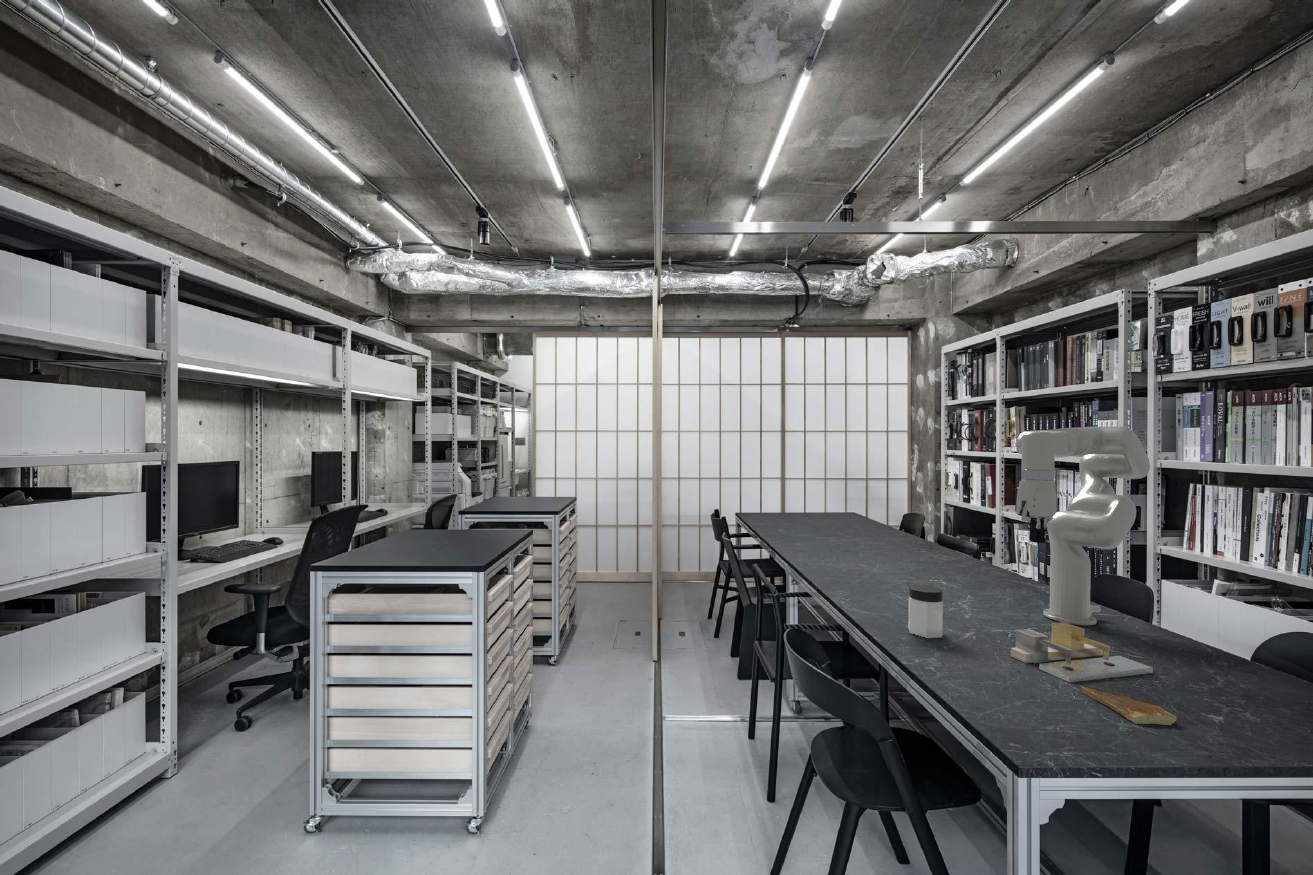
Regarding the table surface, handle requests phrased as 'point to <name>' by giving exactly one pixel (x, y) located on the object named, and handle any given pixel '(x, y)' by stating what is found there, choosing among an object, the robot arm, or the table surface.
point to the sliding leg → (1074, 638)
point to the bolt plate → (1095, 668)
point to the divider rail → (1046, 649)
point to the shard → (1131, 707)
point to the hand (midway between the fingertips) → (1037, 542)
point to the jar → (925, 611)
